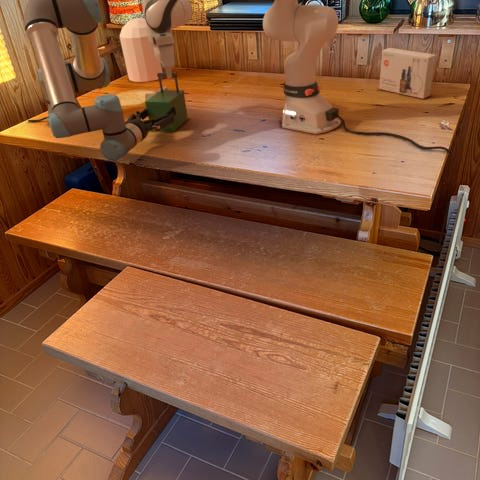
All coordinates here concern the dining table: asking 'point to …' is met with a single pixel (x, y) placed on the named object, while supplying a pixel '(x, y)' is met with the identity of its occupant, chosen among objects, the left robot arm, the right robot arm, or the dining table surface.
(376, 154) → the dining table surface
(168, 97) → the lid
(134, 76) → the container
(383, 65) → the skincare box
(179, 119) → the chest
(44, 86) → the left robot arm
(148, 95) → the rock
